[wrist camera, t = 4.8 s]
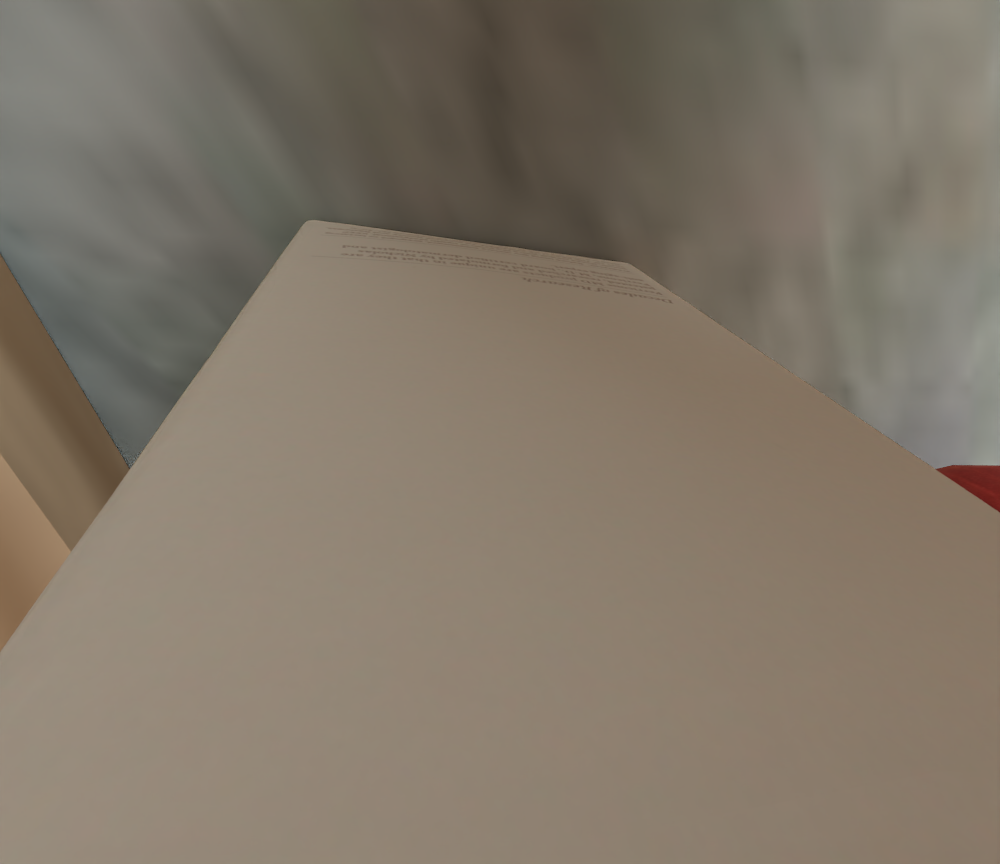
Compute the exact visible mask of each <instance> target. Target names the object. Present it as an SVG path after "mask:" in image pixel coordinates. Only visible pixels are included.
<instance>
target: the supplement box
mask: <svg viewBox="0 0 1000 864" xmlns="http://www.w3.org/2000/svg"><path fill="white" fill-rule="evenodd" d="M0 864H1000V512H998V511H997V510H995V509H994V508H992V507H991V506H989V505H988V504H986V503H985V502H983V501H982V500H980V499H979V498H978V497H976V496H975V495H973V494H972V493H970V492H969V491H967V490H966V489H964V488H963V487H961V486H960V485H958V484H957V483H955V482H954V481H952V480H951V479H949V478H948V477H946V476H945V475H943V474H942V473H940V472H939V471H937V470H936V469H934V468H933V467H931V466H930V465H928V464H927V463H925V462H924V461H922V460H921V459H919V458H918V457H916V456H915V455H913V454H912V453H910V452H909V451H907V450H906V449H904V448H903V447H901V446H900V445H898V444H897V443H895V442H894V441H892V440H891V439H889V438H888V437H886V436H885V435H883V434H882V433H880V432H879V431H877V430H876V429H874V428H873V427H872V426H870V425H869V424H867V423H866V422H864V421H863V420H861V419H860V418H858V417H857V416H855V415H854V414H852V413H851V412H849V411H848V410H846V409H845V408H843V407H842V406H840V405H839V404H837V403H836V402H834V401H833V400H831V399H830V398H828V397H827V396H825V395H824V394H822V393H821V392H819V391H818V390H816V389H815V388H813V387H812V386H811V385H809V384H808V383H806V382H805V381H803V380H802V379H800V378H799V377H797V376H796V375H794V374H793V373H791V372H790V371H788V370H787V369H785V368H784V367H782V366H781V365H779V364H778V363H776V362H775V361H773V360H772V359H770V358H769V357H767V356H766V355H764V354H763V353H761V352H760V351H758V350H757V349H755V348H754V347H752V346H751V345H749V344H748V343H747V342H745V341H744V340H742V339H741V338H739V337H738V336H736V335H735V334H733V333H732V332H730V331H729V330H727V329H726V328H724V327H723V326H721V325H720V324H718V323H717V322H715V321H714V320H712V319H711V318H709V317H708V316H707V315H705V314H704V313H702V312H701V311H699V310H698V309H696V308H695V307H693V306H692V305H691V304H689V303H688V302H686V301H684V300H683V299H681V298H679V297H678V296H677V295H675V294H674V293H673V292H671V291H670V290H668V289H667V288H665V287H664V286H662V285H661V284H659V283H658V282H656V281H655V280H653V279H652V278H650V277H649V276H648V275H646V274H645V273H643V272H642V271H640V270H639V269H637V268H635V267H634V266H632V265H631V264H629V263H624V262H617V261H609V260H602V259H594V258H588V257H581V256H574V255H565V254H558V253H550V252H543V251H534V250H528V249H522V248H517V247H508V246H499V245H492V244H485V243H478V242H471V241H464V240H457V239H450V238H443V237H436V236H429V235H422V234H415V233H408V232H401V231H394V230H387V229H380V228H372V227H365V226H358V225H350V224H343V223H334V222H326V221H318V220H310V221H306V222H305V223H304V224H303V225H302V226H301V228H300V229H299V231H298V232H297V234H296V235H295V236H294V238H293V239H292V240H291V242H290V243H289V244H288V246H287V247H286V248H285V250H284V251H283V253H282V254H281V255H280V257H279V258H278V259H277V261H276V262H275V264H274V265H273V267H272V268H271V270H270V271H269V273H268V274H267V276H266V277H265V278H264V280H263V281H262V283H261V284H260V285H259V287H258V288H257V290H256V291H255V292H254V294H253V295H252V297H251V298H250V299H249V301H248V302H247V304H246V305H245V306H244V308H243V309H242V311H241V312H240V314H239V315H238V316H237V318H236V319H235V321H234V322H233V324H232V325H231V327H230V328H229V330H228V331H227V332H226V334H225V335H224V336H223V338H222V339H221V341H220V342H219V344H218V345H217V347H216V349H215V350H214V351H213V353H212V354H211V356H210V357H209V358H208V360H207V361H206V362H205V364H204V365H203V367H202V368H201V369H200V371H199V372H198V373H197V375H196V376H195V378H194V379H193V380H192V382H191V383H190V385H189V386H188V387H187V389H186V390H185V392H184V393H183V394H182V396H181V397H180V399H179V400H178V401H177V403H176V404H175V406H174V407H173V409H172V410H171V411H170V413H169V414H168V416H167V417H166V419H165V420H164V421H163V423H162V424H161V426H160V427H159V428H158V430H157V431H156V433H155V434H154V436H153V437H152V438H151V440H150V441H149V443H148V444H147V446H146V447H145V448H144V450H143V451H142V453H141V454H140V456H139V457H138V458H137V460H136V461H135V463H134V464H133V466H132V467H131V468H130V470H129V471H128V473H127V474H126V476H125V477H124V478H123V480H122V481H121V483H120V484H119V486H118V487H117V488H116V490H115V491H114V493H113V494H112V496H111V497H110V498H109V500H108V501H107V503H106V504H105V505H104V507H103V508H102V510H101V511H100V512H99V514H98V515H97V517H96V518H95V519H94V521H93V522H92V524H91V525H90V526H89V528H88V529H87V530H86V532H85V533H84V535H83V536H82V537H81V539H80V540H79V542H78V543H77V544H76V546H75V547H74V549H73V550H72V551H71V553H70V554H69V556H68V557H67V558H66V560H65V561H64V563H63V564H62V565H61V567H60V568H59V570H58V571H57V572H56V574H55V575H54V577H53V578H52V579H51V581H50V582H49V584H48V585H47V586H46V588H45V589H44V591H43V592H42V593H41V595H40V596H39V598H38V599H37V600H36V602H35V603H34V605H33V606H32V607H31V609H30V610H29V612H28V613H27V615H26V616H25V617H24V619H23V620H22V622H21V623H20V625H19V626H18V627H17V629H16V630H15V632H14V633H13V635H12V636H11V637H10V639H9V640H8V642H7V643H6V645H5V646H4V647H3V649H2V650H1V652H0Z"/></svg>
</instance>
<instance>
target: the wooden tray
mask: <svg viewBox="0 0 1000 864" xmlns="http://www.w3.org/2000/svg"><path fill="white" fill-rule="evenodd" d="M129 470H130V469H129V467H128V466H127V464H126V462H125V461H124V459H123V457H122V456H121V454H120V452H119V451H118V449H117V447H116V446H115V444H114V442H113V441H112V439H111V437H110V436H109V434H108V432H107V431H106V429H105V427H104V426H103V424H102V422H101V421H100V419H99V417H98V416H97V414H96V412H95V411H94V409H93V407H92V406H91V404H90V403H89V401H88V399H87V398H86V396H85V394H84V393H83V391H82V389H81V388H80V386H79V384H78V383H77V381H76V379H75V378H74V376H73V374H72V373H71V371H70V369H69V368H68V366H67V364H66V363H65V361H64V359H63V358H62V356H61V354H60V353H59V351H58V349H57V348H56V346H55V344H54V343H53V341H52V339H51V338H50V336H49V334H48V333H47V331H46V329H45V328H44V326H43V324H42V323H41V321H40V319H39V318H38V316H37V315H36V313H35V311H34V310H33V308H32V306H31V305H30V303H29V301H28V300H27V298H26V296H25V295H24V293H23V291H22V290H21V288H20V286H19V285H18V283H17V281H16V280H15V278H14V276H13V275H12V273H11V271H10V270H9V268H8V266H7V265H6V263H5V261H4V260H3V258H2V256H1V255H0V652H1V650H2V649H3V647H4V646H5V645H6V643H7V642H8V640H9V639H10V637H11V636H12V635H13V633H14V632H15V630H16V629H17V627H18V626H19V625H20V623H21V622H22V620H23V619H24V617H25V616H26V615H27V613H28V612H29V610H30V609H31V607H32V606H33V605H34V603H35V602H36V600H37V599H38V598H39V596H40V595H41V593H42V592H43V591H44V589H45V588H46V586H47V585H48V584H49V582H50V581H51V579H52V578H53V577H54V575H55V574H56V572H57V571H58V570H59V568H60V567H61V565H62V564H63V563H64V561H65V560H66V558H67V557H68V556H69V554H70V553H71V551H72V550H73V549H74V547H75V546H76V544H77V543H78V542H79V540H80V539H81V537H82V536H83V535H84V533H85V532H86V530H87V529H88V528H89V526H90V525H91V524H92V522H93V521H94V519H95V518H96V517H97V515H98V514H99V512H100V511H101V510H102V508H103V507H104V505H105V504H106V503H107V501H108V500H109V498H110V497H111V496H112V494H113V493H114V491H115V490H116V488H117V487H118V486H119V484H120V483H121V481H122V480H123V478H124V477H125V476H126V474H127V473H128V471H129Z"/></svg>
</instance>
